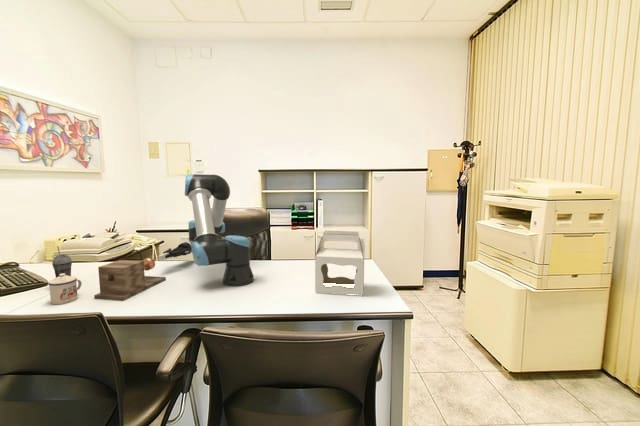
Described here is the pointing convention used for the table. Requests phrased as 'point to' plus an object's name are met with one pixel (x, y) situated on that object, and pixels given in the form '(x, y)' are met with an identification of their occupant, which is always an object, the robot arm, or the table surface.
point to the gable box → (339, 263)
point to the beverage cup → (62, 264)
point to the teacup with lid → (64, 289)
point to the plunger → (146, 264)
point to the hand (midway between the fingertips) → (159, 258)
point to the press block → (124, 280)
